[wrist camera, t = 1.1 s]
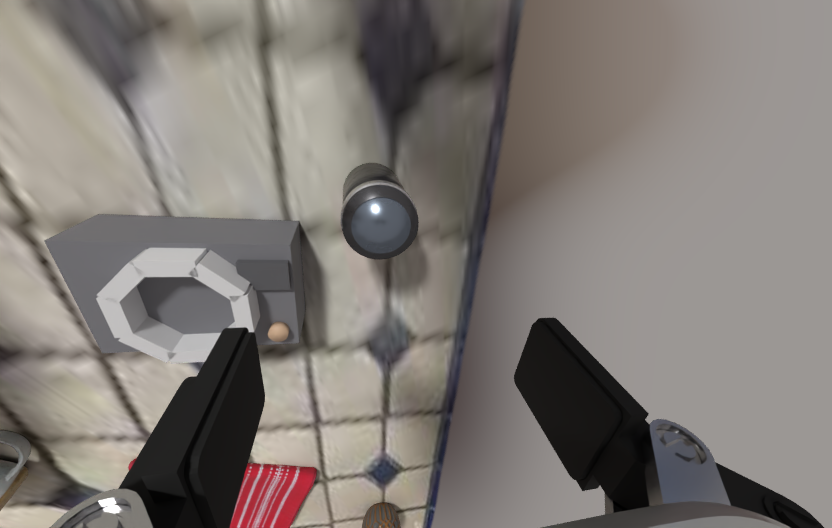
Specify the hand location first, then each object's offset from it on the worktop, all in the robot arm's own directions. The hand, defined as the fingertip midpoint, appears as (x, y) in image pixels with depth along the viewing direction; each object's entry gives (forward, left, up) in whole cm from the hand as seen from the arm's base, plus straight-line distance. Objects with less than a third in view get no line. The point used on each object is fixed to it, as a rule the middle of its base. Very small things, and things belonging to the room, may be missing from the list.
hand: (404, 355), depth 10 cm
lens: (0, 0, -20) cm, 20 cm away
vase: (+60, +4, -20) cm, 64 cm away
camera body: (+8, -14, -20) cm, 25 cm away
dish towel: (+47, -20, -21) cm, 55 cm away
